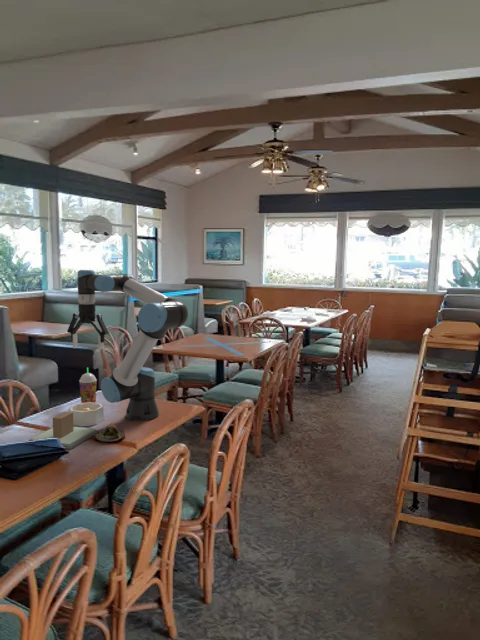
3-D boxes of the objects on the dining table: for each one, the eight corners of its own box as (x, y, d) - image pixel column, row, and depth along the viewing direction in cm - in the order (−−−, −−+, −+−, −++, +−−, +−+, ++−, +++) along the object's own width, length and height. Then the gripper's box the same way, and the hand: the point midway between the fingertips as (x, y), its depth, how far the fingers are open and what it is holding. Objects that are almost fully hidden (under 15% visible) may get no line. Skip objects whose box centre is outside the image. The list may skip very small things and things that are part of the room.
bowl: (108, 417, 225) (108, 403, 224) (91, 427, 211) (91, 412, 211) (81, 414, 228) (81, 401, 228) (63, 424, 215) (63, 410, 214)
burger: (89, 441, 195) (88, 424, 194) (108, 432, 206) (107, 415, 205) (112, 446, 190) (112, 428, 189) (131, 437, 201) (130, 419, 200)
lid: (94, 431, 205) (94, 410, 204) (69, 446, 188) (69, 424, 187) (58, 427, 209) (57, 406, 208) (30, 441, 192) (29, 419, 191)
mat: (99, 431, 206) (99, 430, 206) (70, 449, 186) (70, 448, 186) (57, 426, 211) (57, 425, 211) (24, 444, 191) (24, 442, 191)
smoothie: (76, 408, 239) (75, 368, 236) (87, 403, 246) (86, 365, 244) (89, 410, 236) (88, 370, 233) (100, 405, 243) (99, 366, 241)
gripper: (58, 303, 223) (60, 348, 225) (106, 304, 216) (107, 351, 219) (68, 301, 230) (69, 345, 233) (115, 303, 224) (116, 348, 226)
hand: (88, 348), depth 226 cm, fingers open, 13 cm apart
